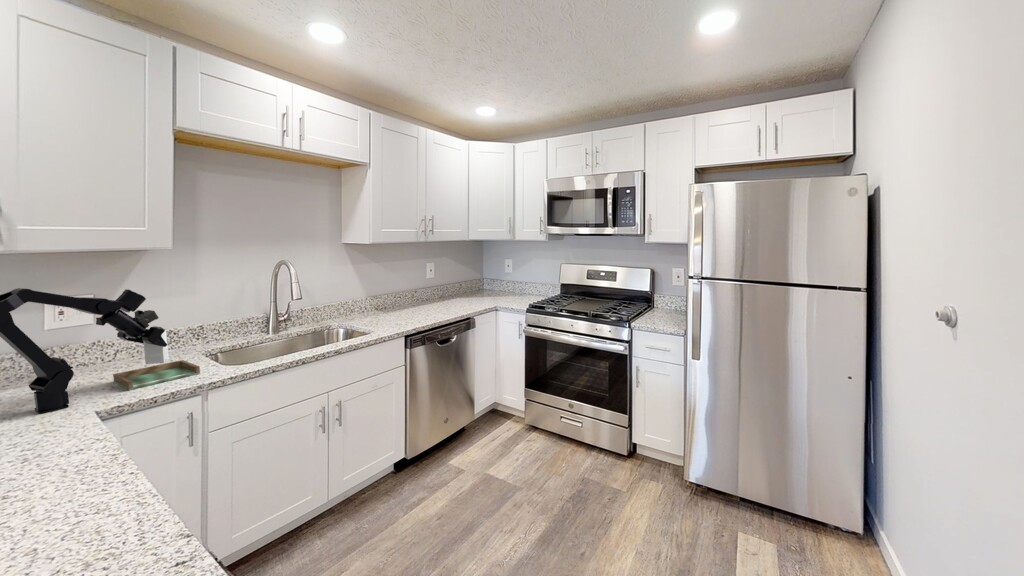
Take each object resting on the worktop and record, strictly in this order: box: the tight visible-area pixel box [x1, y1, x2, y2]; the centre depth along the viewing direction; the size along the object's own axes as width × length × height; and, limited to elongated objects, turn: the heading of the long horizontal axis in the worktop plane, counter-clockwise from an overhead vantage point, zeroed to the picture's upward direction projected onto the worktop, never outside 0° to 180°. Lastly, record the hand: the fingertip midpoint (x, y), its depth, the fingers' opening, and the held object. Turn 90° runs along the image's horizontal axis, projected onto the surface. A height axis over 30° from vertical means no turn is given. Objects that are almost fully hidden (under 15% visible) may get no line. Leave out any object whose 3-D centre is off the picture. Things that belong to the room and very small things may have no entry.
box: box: [112, 359, 201, 391], centre depth 163 cm, size 22×16×3 cm
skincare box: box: [143, 330, 170, 365], centre depth 161 cm, size 6×4×12 cm
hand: (159, 344), depth 162 cm, fingers closed on skincare box, 7 cm apart
